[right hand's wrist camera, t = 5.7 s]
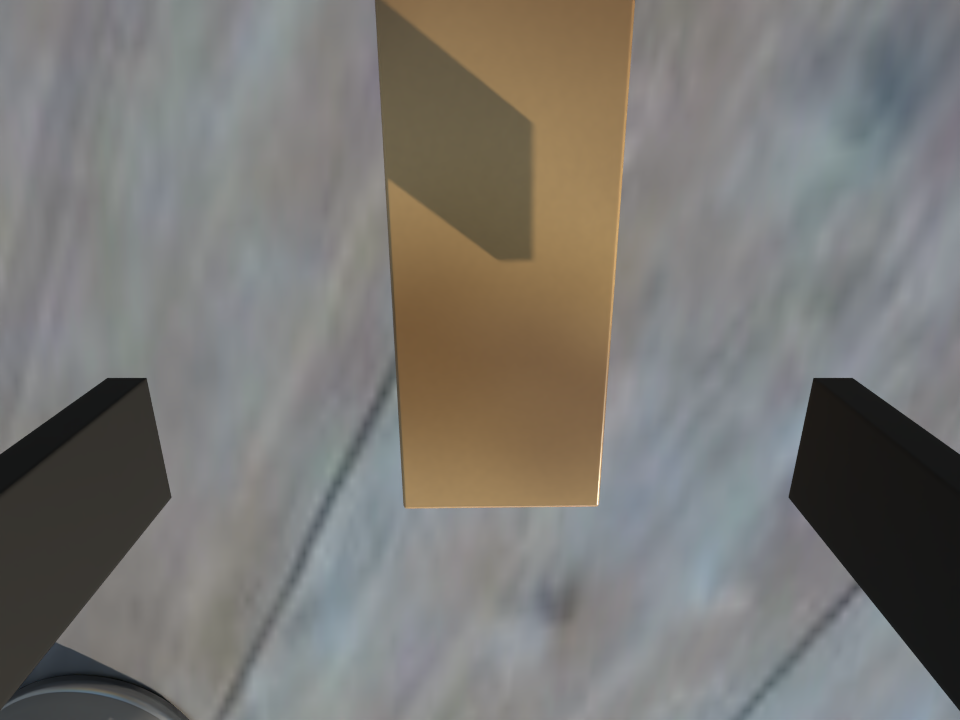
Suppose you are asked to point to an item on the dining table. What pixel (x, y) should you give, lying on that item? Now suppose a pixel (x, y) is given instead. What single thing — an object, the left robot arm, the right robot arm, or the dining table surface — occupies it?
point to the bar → (503, 241)
